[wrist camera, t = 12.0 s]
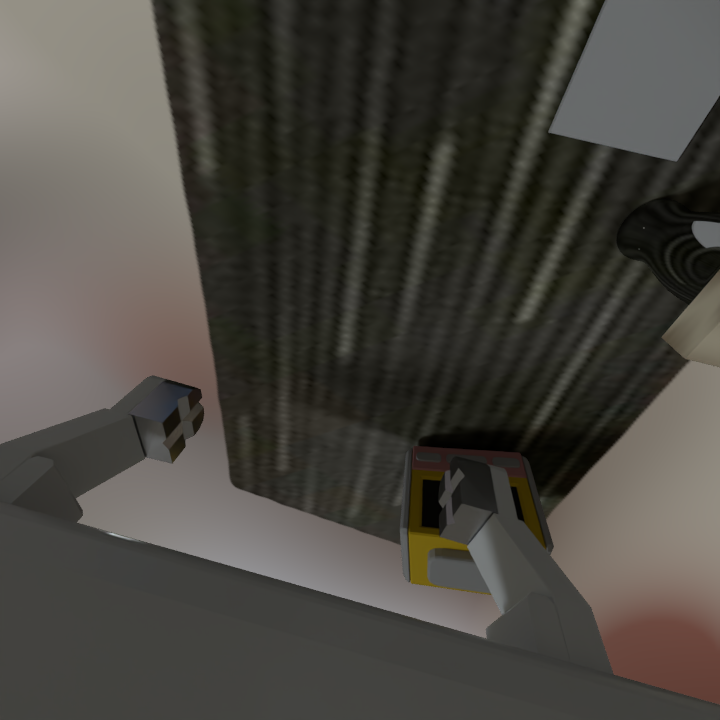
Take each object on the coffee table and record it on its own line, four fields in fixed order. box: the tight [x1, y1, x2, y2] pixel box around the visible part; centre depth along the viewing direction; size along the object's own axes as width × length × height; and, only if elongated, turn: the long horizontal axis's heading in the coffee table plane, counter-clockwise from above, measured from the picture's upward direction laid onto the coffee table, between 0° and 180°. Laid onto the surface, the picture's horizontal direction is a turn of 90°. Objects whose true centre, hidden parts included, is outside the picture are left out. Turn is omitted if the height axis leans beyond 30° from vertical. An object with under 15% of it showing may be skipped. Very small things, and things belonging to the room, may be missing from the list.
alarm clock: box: [400, 446, 554, 595], centre depth 54 cm, size 20×16×18 cm
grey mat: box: [548, 0, 720, 161], centre depth 28 cm, size 12×12×1 cm
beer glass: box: [617, 199, 720, 305], centre depth 29 cm, size 7×7×15 cm
